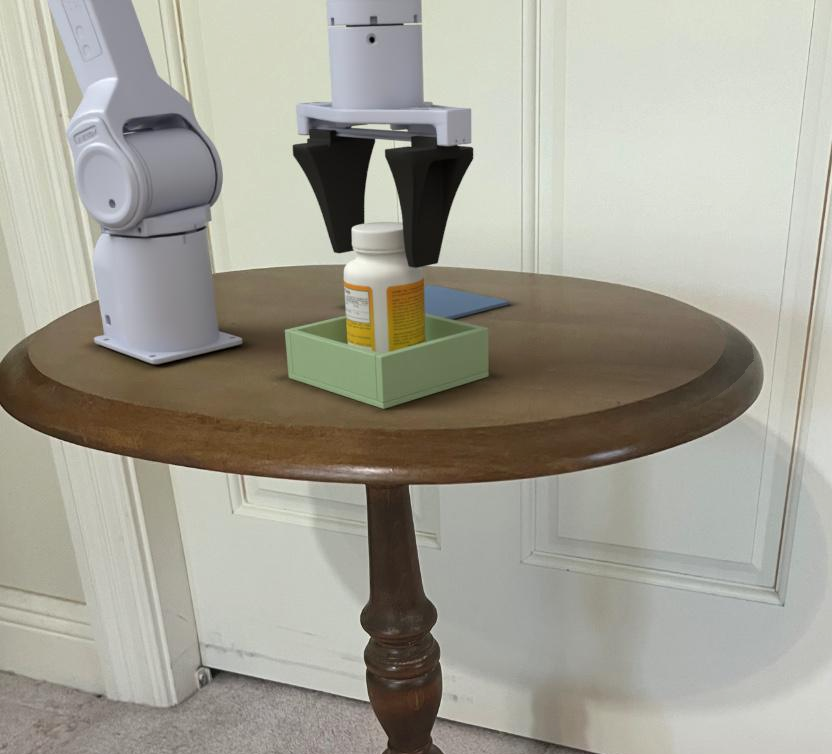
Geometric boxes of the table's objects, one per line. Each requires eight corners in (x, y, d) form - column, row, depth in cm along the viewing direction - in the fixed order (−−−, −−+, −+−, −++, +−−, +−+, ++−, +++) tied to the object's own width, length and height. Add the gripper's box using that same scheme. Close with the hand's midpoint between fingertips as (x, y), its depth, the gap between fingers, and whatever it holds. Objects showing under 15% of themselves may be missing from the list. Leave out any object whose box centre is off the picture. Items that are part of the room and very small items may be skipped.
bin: (288, 378, 76) (284, 329, 75) (391, 350, 82) (390, 304, 80) (383, 409, 69) (381, 357, 68) (488, 376, 75) (489, 327, 74)
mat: (347, 307, 95) (347, 303, 94) (430, 288, 100) (430, 284, 100) (425, 326, 88) (425, 322, 88) (509, 304, 94) (509, 300, 94)
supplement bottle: (429, 361, 78) (426, 218, 73) (422, 383, 73) (418, 232, 68) (355, 361, 78) (347, 220, 74) (343, 383, 73) (334, 233, 69)
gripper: (508, 21, 63) (505, 261, 69) (349, 26, 73) (360, 237, 79) (419, 25, 59) (425, 279, 65) (263, 29, 68) (282, 251, 75)
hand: (384, 257), depth 72 cm, fingers open, 7 cm apart
